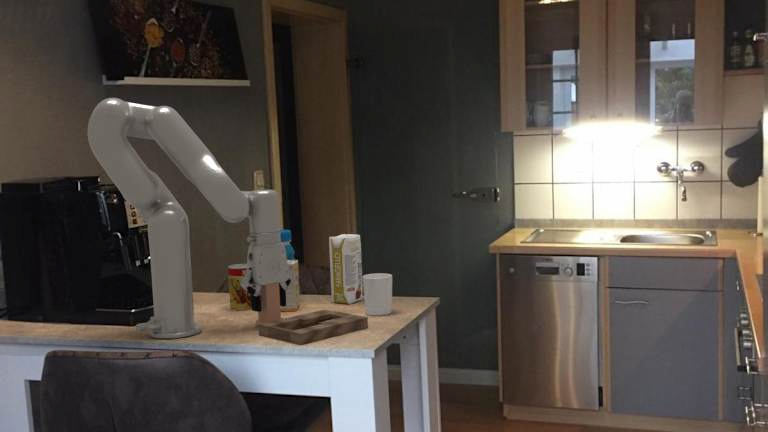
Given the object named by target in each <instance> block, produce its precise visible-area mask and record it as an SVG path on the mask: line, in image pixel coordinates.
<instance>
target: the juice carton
mask: <svg viewBox="0 0 768 432" xmlns="http://www.w3.org/2000/svg"><path fill="white" fill-rule="evenodd" d="M328 238H329V239H328V240H329V241H328V244H329V245H328V247H329V265H330V266H329V271H330V289H331V290H330V291H331V292H330V293H331V302H332V304H333V303H334V304H345V305H351V304H354V303H357V302H360V301H363V298H364V289H363V278H362V276H363V264H362V262H363V261H362V241H361V235H360V234H354V233H353V234H352V233H349V234H348V233H347V234H345V233H344V234H343V233H342V234H339V235H337V236H329V237H328Z"/></svg>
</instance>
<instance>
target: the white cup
mask: <svg viewBox="0 0 768 432" xmlns="http://www.w3.org/2000/svg"><path fill="white" fill-rule="evenodd" d="M362 282H363V298H364V304H365V314H366V315H369V316H385V315H389V314H390V315H391V314H392V303H393V274H390V273H385V272H384V273H379V272H378V273H368V274H364V275H362Z"/></svg>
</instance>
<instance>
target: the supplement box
mask: <svg viewBox="0 0 768 432" xmlns="http://www.w3.org/2000/svg"><path fill="white" fill-rule="evenodd" d="M287 262H288V268H289V269H290V270H291V271H292V272H293V273H294V276H293V278H292V280H291V283H290V284H289V286H288V289H287V290H286V306H280V312H297V310H298V309H299V306H300V305H301V301H300V300H301V299H300V298H301V297H300V283H299V282H300V280H299V279H300V278H299V274H300V273H299V260H298V259H295V260H288V261H287Z"/></svg>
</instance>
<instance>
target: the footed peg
mask: <svg viewBox="0 0 768 432" xmlns="http://www.w3.org/2000/svg"><path fill="white" fill-rule="evenodd" d="M258 296H260V297H261V312H257V316H258V319H256V320H255V327H256V328H259V325H258V324H262V323H267V322H271V321H276V320H280V319H284V317H283V318H282V317H281V316H282V314H281V312H282V311H280V293H279V283H276V284H270V285H265V286H261V289H260V292H259V295H258Z"/></svg>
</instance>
